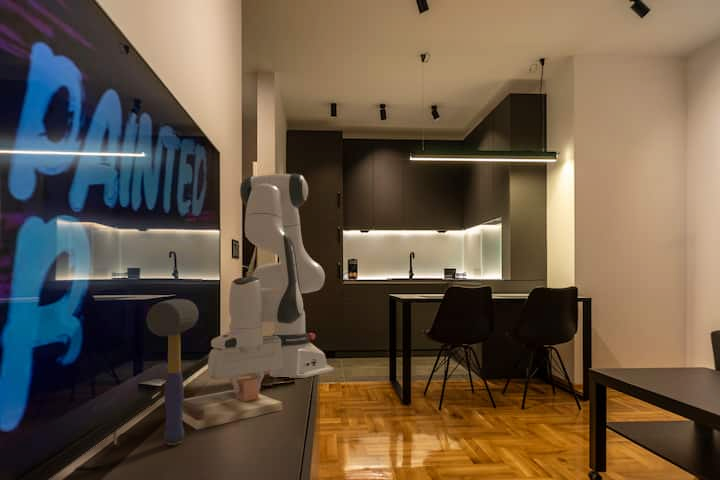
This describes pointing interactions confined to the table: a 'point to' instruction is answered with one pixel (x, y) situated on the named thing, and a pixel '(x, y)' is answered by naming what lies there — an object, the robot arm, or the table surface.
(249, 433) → the table surface
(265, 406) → the birch board
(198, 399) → the steel straightedge
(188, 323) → the rubber mallet
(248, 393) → the block
